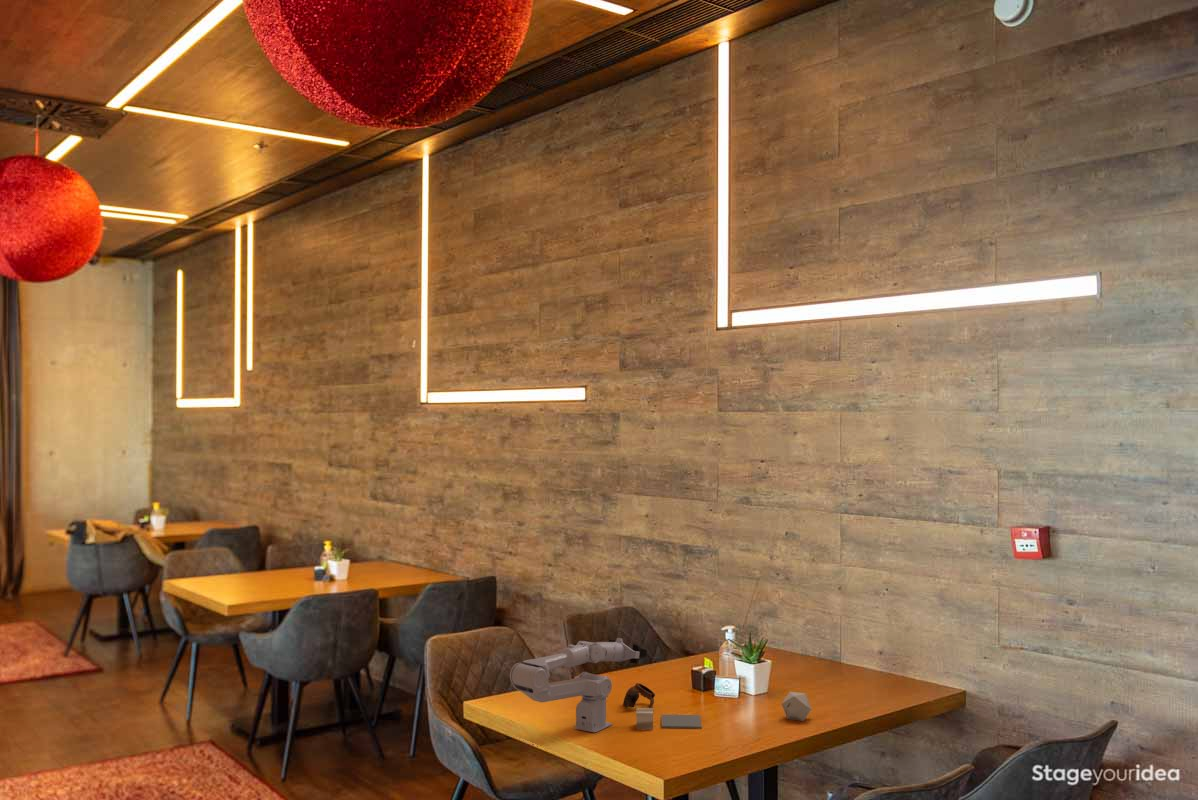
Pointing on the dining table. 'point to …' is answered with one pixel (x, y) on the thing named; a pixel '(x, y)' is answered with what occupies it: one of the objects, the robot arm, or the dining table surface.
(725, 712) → the dining table surface
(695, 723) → the slate mat
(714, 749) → the dining table surface
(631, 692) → the dark brown looped arch
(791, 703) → the die
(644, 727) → the cream block
